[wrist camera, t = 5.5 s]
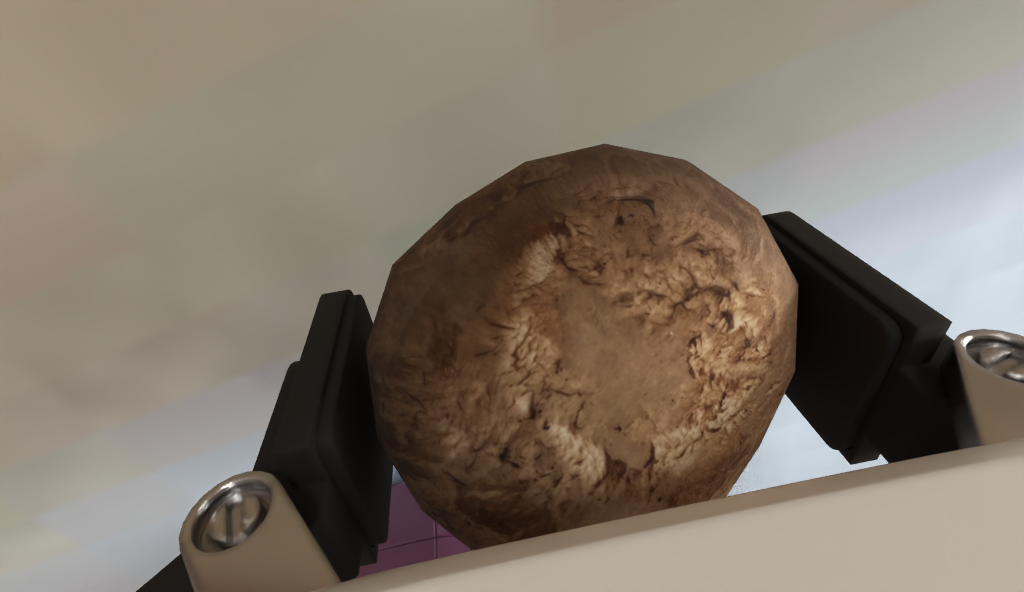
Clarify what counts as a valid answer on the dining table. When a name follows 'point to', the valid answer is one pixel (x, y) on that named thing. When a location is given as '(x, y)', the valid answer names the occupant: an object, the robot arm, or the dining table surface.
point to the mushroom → (581, 346)
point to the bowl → (411, 536)
